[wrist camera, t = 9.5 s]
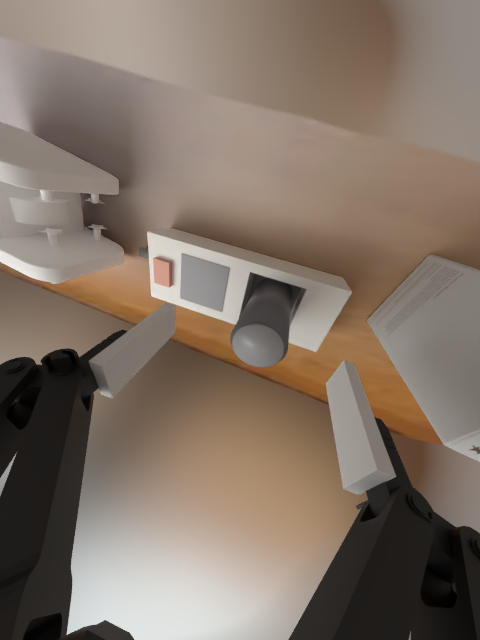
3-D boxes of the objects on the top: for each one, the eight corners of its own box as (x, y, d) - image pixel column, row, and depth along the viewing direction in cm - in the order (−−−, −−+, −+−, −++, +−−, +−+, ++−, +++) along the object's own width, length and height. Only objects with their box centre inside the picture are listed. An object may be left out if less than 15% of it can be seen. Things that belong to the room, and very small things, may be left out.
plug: (250, 280, 23) (221, 325, 14) (289, 273, 21) (281, 319, 12) (259, 313, 25) (237, 370, 16) (294, 308, 23) (292, 369, 14)
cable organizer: (137, 184, 22) (14, 166, 13) (133, 263, 28) (47, 292, 19) (27, 128, 22) (-177, 68, 13) (46, 219, 28) (-83, 225, 19)
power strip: (147, 277, 29) (121, 289, 24) (143, 219, 24) (110, 222, 20) (313, 331, 26) (316, 355, 22) (343, 277, 21) (353, 294, 17)
